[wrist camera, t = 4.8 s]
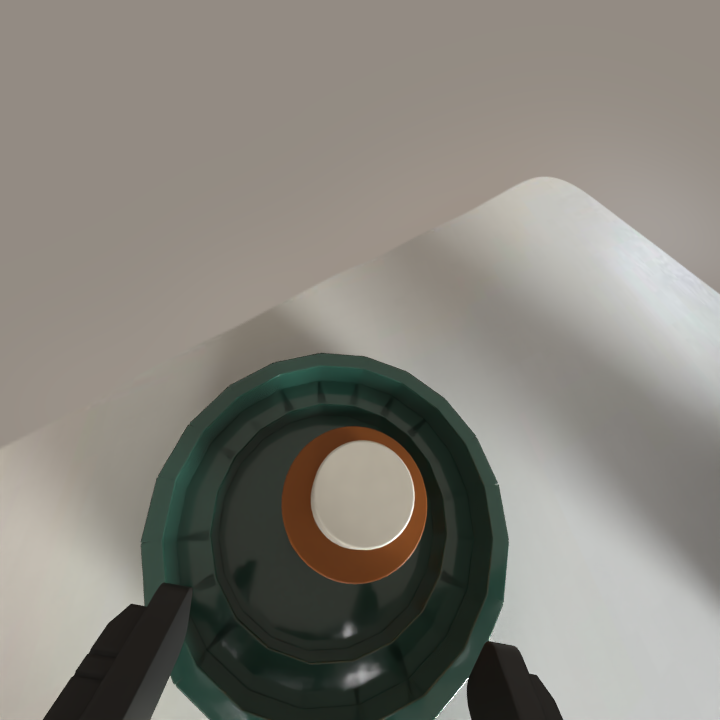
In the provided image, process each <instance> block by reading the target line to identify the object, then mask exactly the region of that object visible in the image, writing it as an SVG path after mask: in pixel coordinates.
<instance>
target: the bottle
mask: <svg viewBox="0 0 720 720" xmlns="http://www.w3.org/2000/svg"><path fill="white" fill-rule="evenodd" d="M426 516H427V496H426V489H425V485H424V482H423V478H422V476H421V473H420V471H419V469H418V467H417V465H416V463H415V461H414V460H413V459H412V457H411V456H410V454H409V453H408V452H407V451H406V450H405V449H404V448H403V447H402V446H401V445H400V444H399V443H398V442H397V441H395V440H394V439H392V438H391V437H390V436H388V435H386V434H384V433H382V432H380V431H377V430H374V429H371V428H366V427H359V426H347V427H341V428H336V429H333V430H330V431H328V432H325V433H323V434H321V435H320V436H318V437H316V438H315V439H313V440H312V441H311V442H309V443H308V444H307V445H306V446H305V447H304V448H303V449H302V450H301V451H300V453H299V454H298V455H297V457H296V458H295V459H294V461H293V463H292V465H291V466H290V469H289V471H288V473H287V476H286V479H285V482H284V486H283V492H282V517H283V522H284V526H285V530H286V533H287V536H288V538H289V541H290V543H291V545H292V547H293V549H294V550H295V552H296V553H297V554H298V555H299V557H300V558H301V559H302V560H303V561H304V562H305V563H306V564H307V565H308V566H309V567H310V568H312V569H313V570H314V571H316V572H317V573H319V574H320V575H322V576H324V577H326V578H328V579H331V580H334V581H336V582H341V583H346V584H364V583H370V582H373V581H377V580H380V579H382V578H384V577H386V576H388V575H390V574H391V573H393V572H395V571H396V570H397V569H398V568H400V567H401V566H402V565H403V564H404V563H405V562H406V561H407V560H408V559H409V557H410V556H411V555H412V553H413V552H414V550H415V549H416V547H417V545H418V543H419V541H420V539H421V536H422V534H423V531H424V527H425V522H426Z"/></svg>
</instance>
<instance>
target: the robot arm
mask: <svg viewBox="0 0 720 720" xmlns="http://www.w3.org/2000/svg"><path fill="white" fill-rule="evenodd" d="M192 592H193V588H192V587H187V586H181V585H176V584H170V583H165V582H164V583H162V584H161V585H160V586H159V588H158V589H157V591H156V592H155V594H154V596H153V597H152V599H151V601H150V602H149V604H148V606H147V607H146V606H141V605H135V604H130V605H129V606H128V607H127V608H126V609H125V610H123V611H122V612H121V613H120V614H119V615H118V616H116V617H115V618H114V619H113V620H112V621H111V622H109V623H108V625H107V626H106V627H105V629H104V630H103V632H102V633H101V635H100V636H99V638H98V639H97V641H96V642H95V644H94V645H93V647H92V648H91V650H90V653H89V654H87V655H86V657H85V658H84V660H83V661H82V663H81V664H80V666H79V667H78V669H77V670H76V673H75V675H74V676H73V677H71V679H70V680H69V682H68V683H67V685H66V686H65V688H64V689H63V691H62V692H61V694H60V695H59V697H58V698H57V700H56V701H55V702H54V704H53V705H52V707H51V708H50V710H49V711H48V713H47V714H46V716H45V717H44V719H43V720H150V719H151V717H152V714H153V712H154V710H155V708H156V705H157V703H158V701H159V699H160V697H161V694H162V692H163V690H164V688H165V685H166V683H167V681H168V679H169V676H170V674H171V672H172V670H173V668H174V665H175V663H176V661H177V659H178V656H179V654H180V651H181V648H182V646H183V643H184V639H185V636H186V632H187V627H188V620H189V613H190V606H191V599H192ZM467 700H468V707H469V711H470V715H471V720H563V718H562V716H561V714H560V712H559V709H558V707H557V705H556V703H555V700H554V699H553V697H552V696H551V695H550V693H549V692H548V690H547V689H546V688H545V686H544V685H543V683H542V682H541V681H540V679H539V678H538V676H537V675H533V674H529V672H528V670H527V667H526V665H525V662H524V660H523V657H522V655H521V653H520V651H519V650H518V649H517V648H516V647H515V646H512V645H506V644H501V643H495V642H490V641H487V642H486V643H485V644H484V646H483V648H482V650H481V652H480V654H479V657H478V659H477V661H476V663H475V665H474V667H473V669H472V672H471V674H470V676H469V679H468V684H467Z"/></svg>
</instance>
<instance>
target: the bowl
mask: <svg viewBox="0 0 720 720" xmlns="http://www.w3.org/2000/svg"><path fill="white" fill-rule="evenodd" d="M347 426H359V427H366V428H371V429H374V430H377V431H380V432H382V433H384V434H386V435H388V436H390V437H391V438H392V439H394V440H395V441H397V442H398V443H399V444H400V445H401V446H402V447H403V448H404V449H405V450H406V451H407V452H408V453H409V454H410V456H411V457H412V459H413V460H414V461H415V463H416V465H417V467H418V469H419V471H420V473H421V476H422V478H423V482H424V485H425V489H426V496H427V516H426V522H425V527H424V531H423V534H422V536H421V539H420V541H419V543H418V545H417V547H416V549H415V550H414V552H413V553H412V555H411V556H410V557H409V559H408V560H407V561H406V562H405V563H404V564H403V565H402V566H401V567H400V568H398V569H397V570H396V571H395V572H393V573H391V574H390V575H388V576H386V577H384V578H382V579H380V580H377V581H373V582H370V583H364V584H346V583H341V582H336V581H334V580H331V579H328V578H326V577H324V576H322V575H320V574H319V573H317V572H316V571H314V570H313V569H312V568H310V567H309V566H308V565H307V564H306V563H305V562H304V561H303V560H302V559H301V558H300V557H299V555H298V554H297V553H296V552H295V550H294V549H293V547H292V545H291V543H290V541H289V538H288V536H287V533H286V530H285V526H284V522H283V517H282V492H283V486H284V482H285V479H286V476H287V473H288V471H289V469H290V466H291V465H292V463H293V461H294V459H295V458H296V457H297V455H298V454H299V453H300V451H301V450H302V449H303V448H304V447H305V446H306V445H307V444H308V443H309V442H311V441H312V440H313V439H315V438H316V437H318V436H320V435H321V434H323V433H325V432H328V431H330V430H333V429H336V428H341V427H347ZM508 540H509V539H508V533H507V528H506V522H505V516H504V511H503V505H502V500H501V494H500V489H499V485H498V482H497V480H496V478H495V476H494V474H493V471H492V469H491V467H490V465H489V463H488V461H487V459H486V456H485V454H484V452H483V450H482V448H481V446H480V443H479V441H478V439H477V437H476V435H475V434H474V433H473V432H472V430H471V429H470V428H469V427H468V426H467V424H466V423H465V422H464V421H463V420H462V418H461V417H460V416H459V415H458V414H457V412H456V411H455V410H454V409H453V408H452V406H451V405H450V404H449V403H448V401H447V400H446V399H445V398H444V397H442V396H441V395H439V394H438V393H437V392H435V391H434V390H432V389H431V388H430V387H428V386H427V385H425V384H424V383H423V382H421V381H420V380H418V379H417V378H415V377H414V376H413V375H411V374H410V373H408V372H407V371H404V370H401V369H398V368H396V367H393V366H390V365H387V364H385V363H382V362H379V361H377V360H374V359H371V358H368V357H365V356H354V355H341V354H327V353H318V354H313V355H308V356H303V357H298V358H293V359H288V360H284V361H279V362H275V363H272V364H270V365H268V366H266V367H264V368H262V369H260V370H258V371H256V372H255V373H253V374H251V375H249V376H247V377H245V378H243V379H241V380H239V381H237V382H235V383H233V384H231V385H230V386H229V387H227V388H226V389H225V390H224V391H223V392H222V393H221V394H220V395H219V396H218V397H217V398H216V399H215V400H214V401H213V402H212V403H210V404H209V405H208V406H207V407H206V408H205V409H204V410H203V411H202V412H201V413H200V414H199V415H198V416H197V417H196V418H195V419H194V420H193V421H191V422H190V425H188V426H187V428H186V429H185V431H184V433H183V434H182V436H181V438H180V439H179V441H178V443H177V444H176V446H175V448H174V450H173V451H172V453H171V455H170V456H169V458H168V460H167V461H166V463H165V465H164V467H163V468H162V470H161V472H160V473H159V475H158V477H157V479H156V483H155V487H154V491H153V495H152V499H151V503H150V507H149V511H148V515H147V519H146V523H145V527H144V531H143V535H142V539H141V555H142V572H143V588H144V604H145V606H146V607H147V606H148V604H149V602H150V601H151V599H152V597H153V596H154V594H155V592H156V591H157V589H158V588H159V586H160V585H161V584H162V583H164V582H165V583H170V584H176V585H181V586H187V587H192V588H193V592H192V599H191V606H190V613H189V620H188V627H187V632H186V636H185V639H184V643H183V646H182V648H181V651H180V654H179V656H178V659H177V661H176V663H175V665H174V668H173V670H172V672H171V674H170V676H171V678H172V681H173V683H174V684H176V687H177V688H178V689H179V690H180V691H181V692H182V693H183V694H184V695H185V696H186V697H187V698H188V699H189V700H190V701H191V702H192V703H193V704H194V705H195V706H196V707H197V708H198V709H199V710H200V711H201V712H202V713H203V714H204V715H205V716H206V717H207V718H208V719H209V720H435V719H436V718H437V717H438V715H439V714H440V713H441V712H442V711H443V709H444V708H445V707H446V706H447V704H448V703H449V702H450V701H451V700H452V698H453V697H454V696H455V695H456V693H457V692H458V691H459V690H460V689H461V687H462V686H463V685H464V684H465V683H466V681H467V680H468V679H469V676H470V674H471V672H472V669H473V667H474V665H475V663H476V661H477V659H478V657H479V654H480V652H481V650H482V648H483V646H484V644H485V643H486V642H487V641H489V639H490V637H491V634H492V631H493V629H494V626H495V624H496V621H497V619H498V616H499V613H500V611H501V608H502V606H503V602H504V591H505V580H506V568H507V556H508V545H509V541H508Z"/></svg>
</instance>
